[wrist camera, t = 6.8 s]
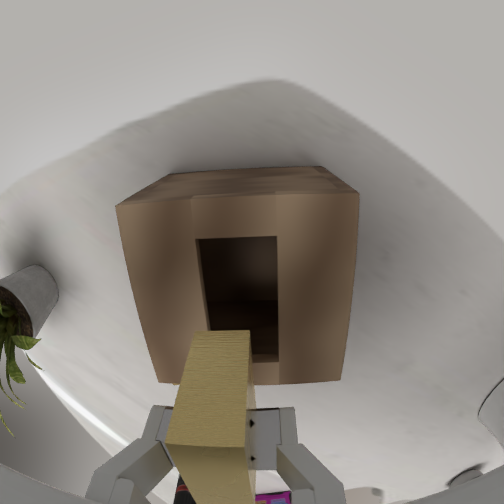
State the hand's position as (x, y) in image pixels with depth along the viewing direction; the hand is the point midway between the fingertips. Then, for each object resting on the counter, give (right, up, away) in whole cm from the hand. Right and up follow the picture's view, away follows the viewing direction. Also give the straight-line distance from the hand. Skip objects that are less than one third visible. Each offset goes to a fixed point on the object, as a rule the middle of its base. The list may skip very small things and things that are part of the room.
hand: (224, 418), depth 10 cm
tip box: (+1, +7, +16) cm, 17 cm away
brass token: (0, +1, +2) cm, 2 cm away
